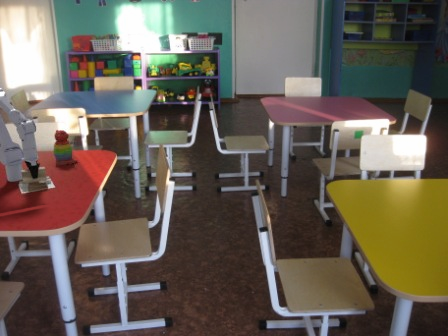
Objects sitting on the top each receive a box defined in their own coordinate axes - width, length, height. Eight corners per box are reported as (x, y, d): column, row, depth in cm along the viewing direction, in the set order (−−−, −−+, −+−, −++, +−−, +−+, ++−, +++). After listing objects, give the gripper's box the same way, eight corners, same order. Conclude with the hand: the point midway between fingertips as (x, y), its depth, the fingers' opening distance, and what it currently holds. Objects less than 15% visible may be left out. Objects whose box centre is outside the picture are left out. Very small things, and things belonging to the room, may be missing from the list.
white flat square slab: (18, 186, 212) (17, 181, 212) (50, 181, 219) (49, 175, 218) (22, 196, 201) (21, 190, 200) (55, 189, 207) (54, 184, 206)
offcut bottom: (28, 189, 205) (27, 186, 204) (47, 186, 208) (46, 183, 208) (28, 191, 202) (28, 188, 202) (48, 188, 206) (47, 185, 205)
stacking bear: (79, 162, 247) (74, 129, 241) (61, 167, 240) (56, 133, 234) (68, 158, 254) (64, 127, 248) (51, 163, 247) (46, 130, 241)
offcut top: (28, 186, 204) (28, 183, 204) (45, 183, 208) (44, 180, 207) (29, 188, 202) (29, 185, 201) (46, 185, 205) (45, 182, 205)
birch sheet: (23, 185, 211) (20, 170, 209) (46, 180, 215) (44, 166, 213) (24, 186, 208) (21, 172, 206) (47, 182, 213) (45, 168, 211)
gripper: (18, 145, 211) (23, 174, 215) (21, 153, 199) (26, 182, 203) (34, 143, 214) (39, 171, 218) (39, 150, 202) (43, 179, 206)
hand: (34, 176), depth 211 cm, fingers open, 5 cm apart
